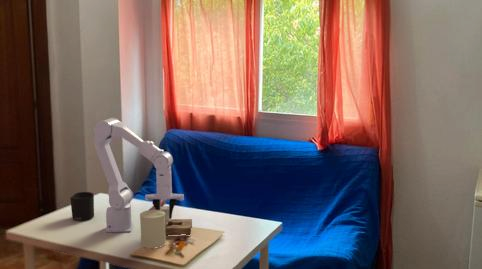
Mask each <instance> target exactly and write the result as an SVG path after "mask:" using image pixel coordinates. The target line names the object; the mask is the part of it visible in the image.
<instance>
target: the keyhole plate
mask: <svg viewBox="0 0 482 269" xmlns="http://www.w3.org/2000/svg"><path fill="white" fill-rule="evenodd" d="M191 228H192V229H193V219H192V218H182V219H181V218H180V219H179V218H177V219H176V218H175V219H174V218H173V219H172V218H171V219H170V222H168V226H165V235H166V236H168V235H181V234H186V235H190V234H191V235H192V230H191ZM191 235H190V236H191Z"/></svg>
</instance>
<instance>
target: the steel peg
mask: <svg viewBox="0 0 482 269" xmlns="http://www.w3.org/2000/svg"><path fill="white" fill-rule="evenodd" d="M160 210H161V211H164V212H165V226H168V222H170V218H169V213H170V210H169V205H168V206H165V205H164V206H161V207H160Z"/></svg>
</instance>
